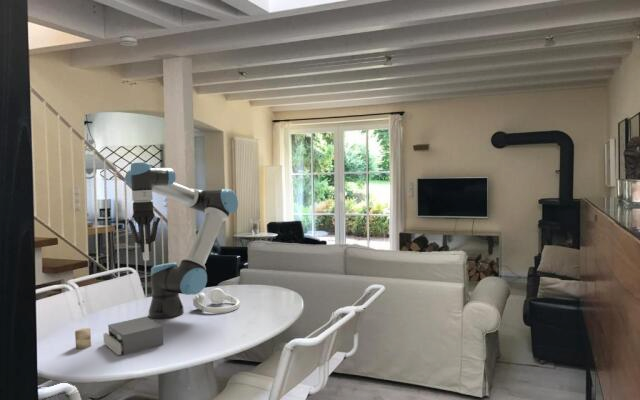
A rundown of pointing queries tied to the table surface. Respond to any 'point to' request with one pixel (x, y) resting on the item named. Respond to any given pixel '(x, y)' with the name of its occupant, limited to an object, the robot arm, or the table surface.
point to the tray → (113, 343)
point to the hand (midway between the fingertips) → (146, 260)
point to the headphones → (215, 301)
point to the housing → (137, 334)
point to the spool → (83, 338)
